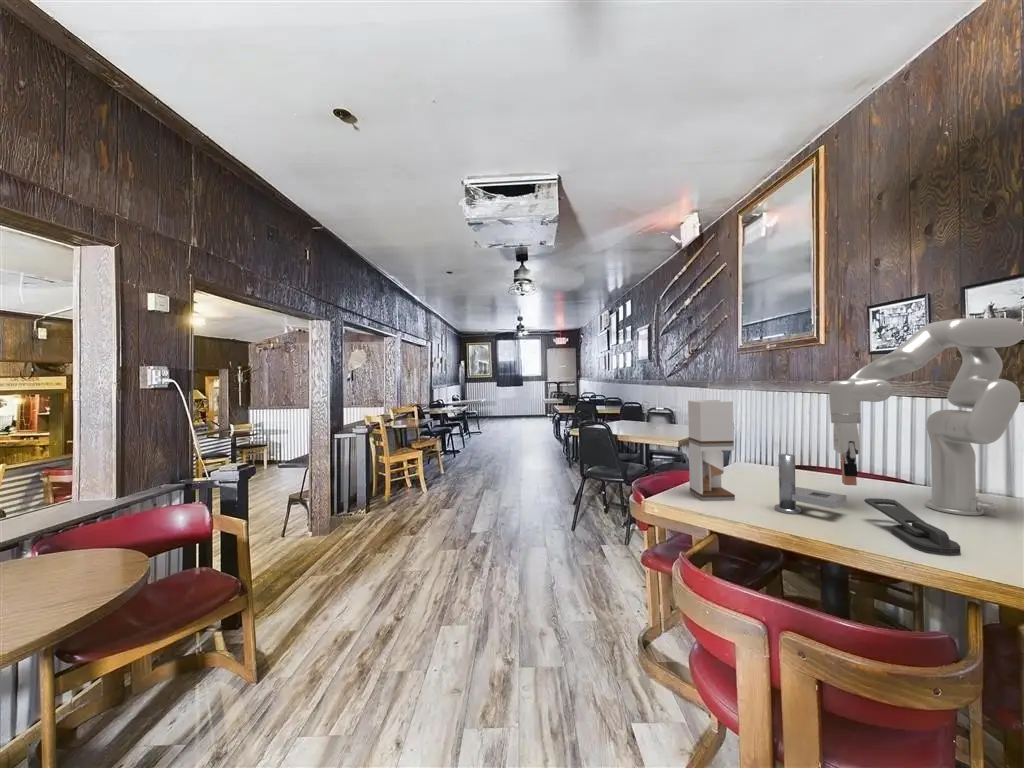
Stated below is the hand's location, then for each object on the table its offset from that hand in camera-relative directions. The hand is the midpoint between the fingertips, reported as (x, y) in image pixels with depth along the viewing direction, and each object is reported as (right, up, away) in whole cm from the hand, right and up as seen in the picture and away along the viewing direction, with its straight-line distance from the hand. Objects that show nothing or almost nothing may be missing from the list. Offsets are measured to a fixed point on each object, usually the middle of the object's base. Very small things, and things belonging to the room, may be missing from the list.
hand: (849, 474), depth 132 cm
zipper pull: (-3, -12, -23) cm, 26 cm away
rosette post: (-16, -11, -3) cm, 20 cm away
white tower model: (-37, -12, +16) cm, 42 cm away
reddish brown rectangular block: (0, -3, 0) cm, 3 cm away
